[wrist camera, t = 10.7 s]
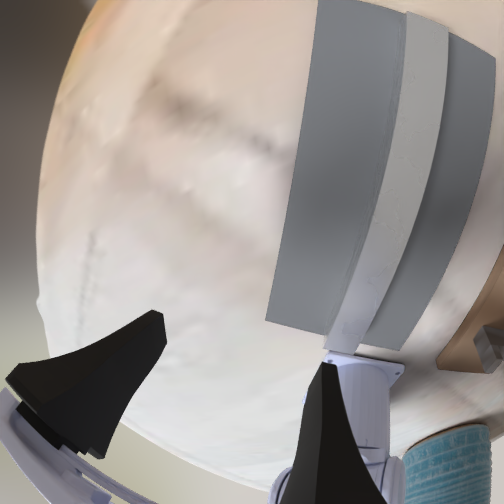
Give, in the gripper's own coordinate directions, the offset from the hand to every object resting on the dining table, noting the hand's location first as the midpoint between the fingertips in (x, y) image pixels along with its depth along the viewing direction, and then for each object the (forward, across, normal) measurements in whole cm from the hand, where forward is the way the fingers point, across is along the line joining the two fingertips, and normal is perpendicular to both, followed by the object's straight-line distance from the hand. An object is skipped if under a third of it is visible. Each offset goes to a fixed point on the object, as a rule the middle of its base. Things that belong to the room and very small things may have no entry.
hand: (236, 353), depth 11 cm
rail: (+9, -6, -6) cm, 12 cm away
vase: (+10, -35, +27) cm, 45 cm away
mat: (+9, -6, -6) cm, 13 cm away
